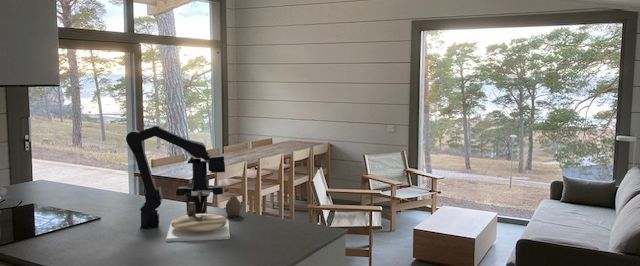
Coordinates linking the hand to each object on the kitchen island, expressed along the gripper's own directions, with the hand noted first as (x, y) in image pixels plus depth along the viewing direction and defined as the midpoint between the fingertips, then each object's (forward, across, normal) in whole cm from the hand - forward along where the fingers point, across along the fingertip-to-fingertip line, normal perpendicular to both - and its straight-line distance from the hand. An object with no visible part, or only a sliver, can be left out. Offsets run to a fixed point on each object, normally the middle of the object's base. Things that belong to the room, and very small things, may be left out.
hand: (201, 211), depth 214 cm
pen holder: (+6, +6, -20) cm, 21 cm away
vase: (+6, -11, -14) cm, 19 cm away
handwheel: (+4, -1, +9) cm, 10 cm away
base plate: (+6, -1, +10) cm, 11 cm away
